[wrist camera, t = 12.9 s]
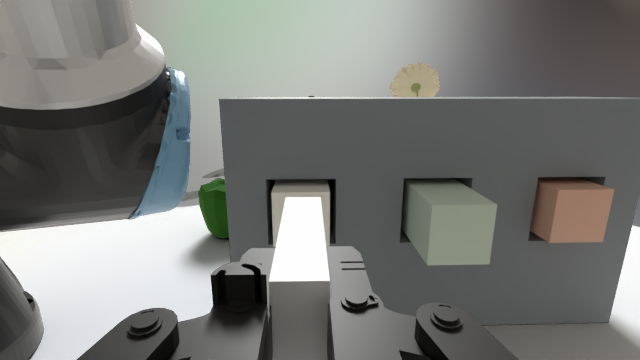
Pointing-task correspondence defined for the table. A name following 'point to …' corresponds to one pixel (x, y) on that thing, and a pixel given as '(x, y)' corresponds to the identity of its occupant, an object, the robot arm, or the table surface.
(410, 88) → the flower in vase
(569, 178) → the terracotta key
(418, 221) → the sage key
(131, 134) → the robot arm
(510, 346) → the table surface
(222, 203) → the bell pepper
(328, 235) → the cream key
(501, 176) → the keypad panel
